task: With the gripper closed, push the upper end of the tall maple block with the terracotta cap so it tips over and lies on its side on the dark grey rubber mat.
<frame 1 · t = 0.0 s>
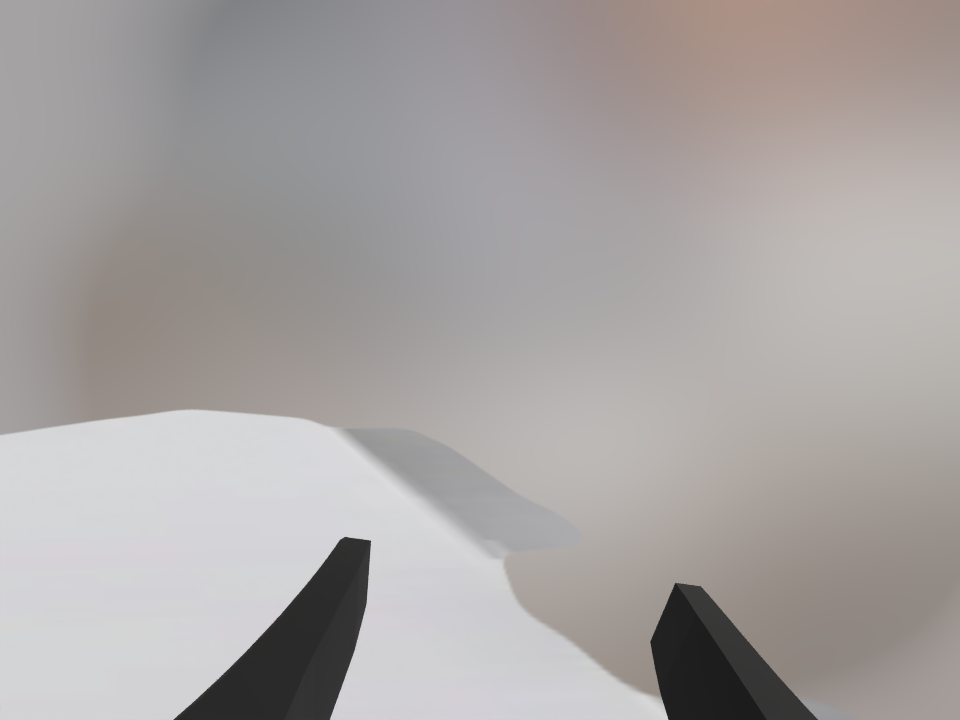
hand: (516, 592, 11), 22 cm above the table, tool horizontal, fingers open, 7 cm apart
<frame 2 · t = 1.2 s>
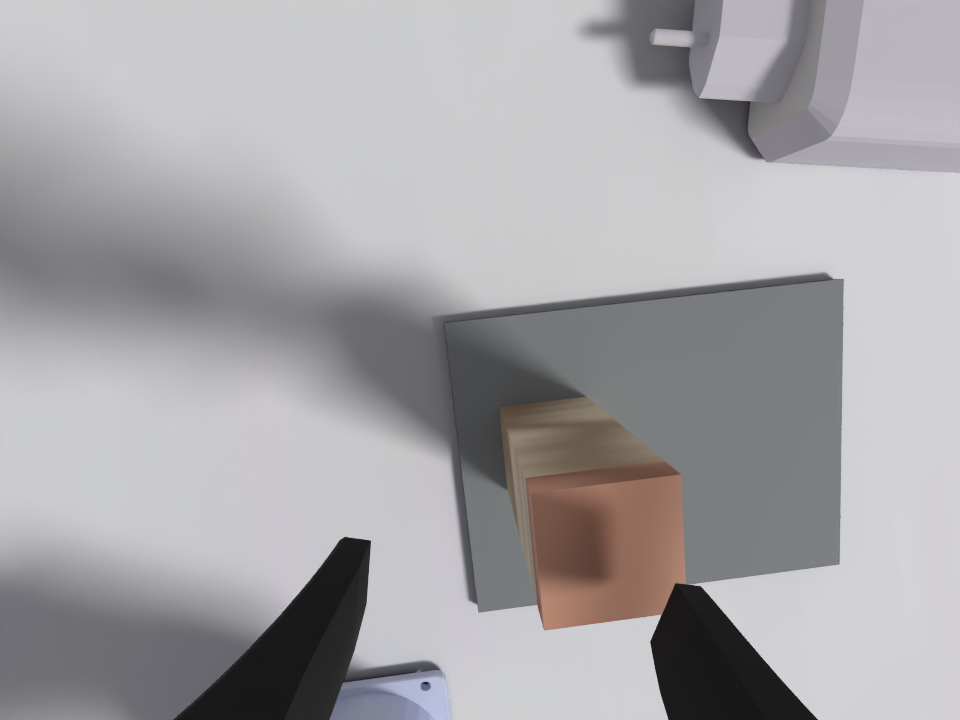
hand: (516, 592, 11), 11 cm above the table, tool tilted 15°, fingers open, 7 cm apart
rubber mat: (650, 448, 22), on the table
maple block: (546, 443, 21), resting on rubber mat
charger: (795, 59, 20), on the table
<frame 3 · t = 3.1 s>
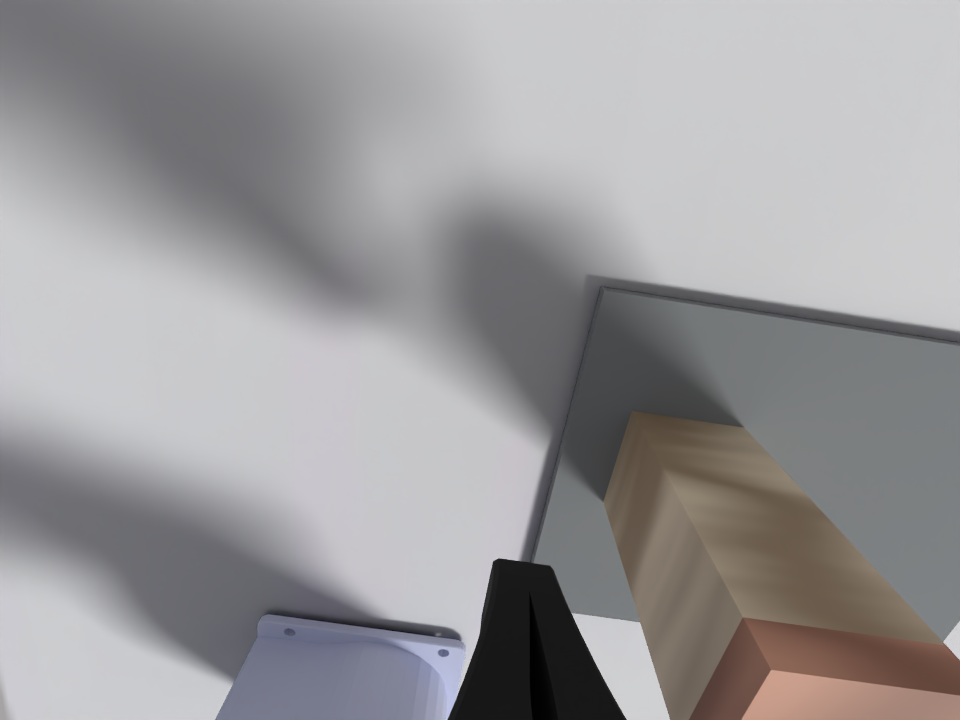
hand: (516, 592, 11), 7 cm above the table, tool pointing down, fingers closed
rubber mat: (785, 498, 18), on the table
maple block: (670, 466, 17), resting on rubber mat
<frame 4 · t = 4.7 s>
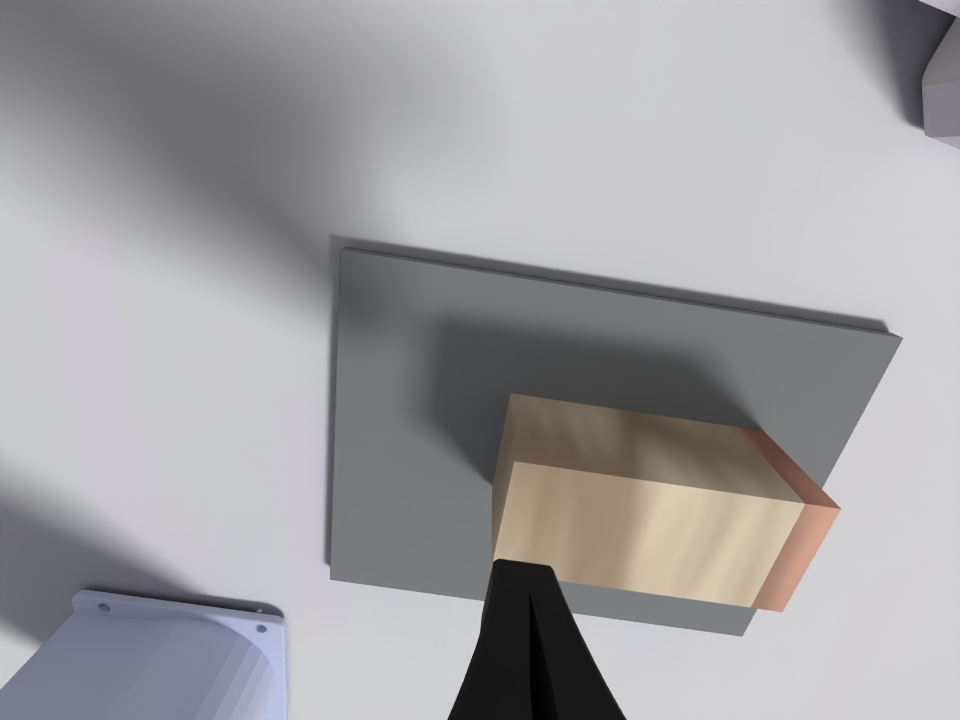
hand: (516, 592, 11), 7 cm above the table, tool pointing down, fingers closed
rubber mat: (573, 468, 18), on the table
maple block: (501, 475, 15), point 2 cm above the table, tilted 90°, touching rubber mat
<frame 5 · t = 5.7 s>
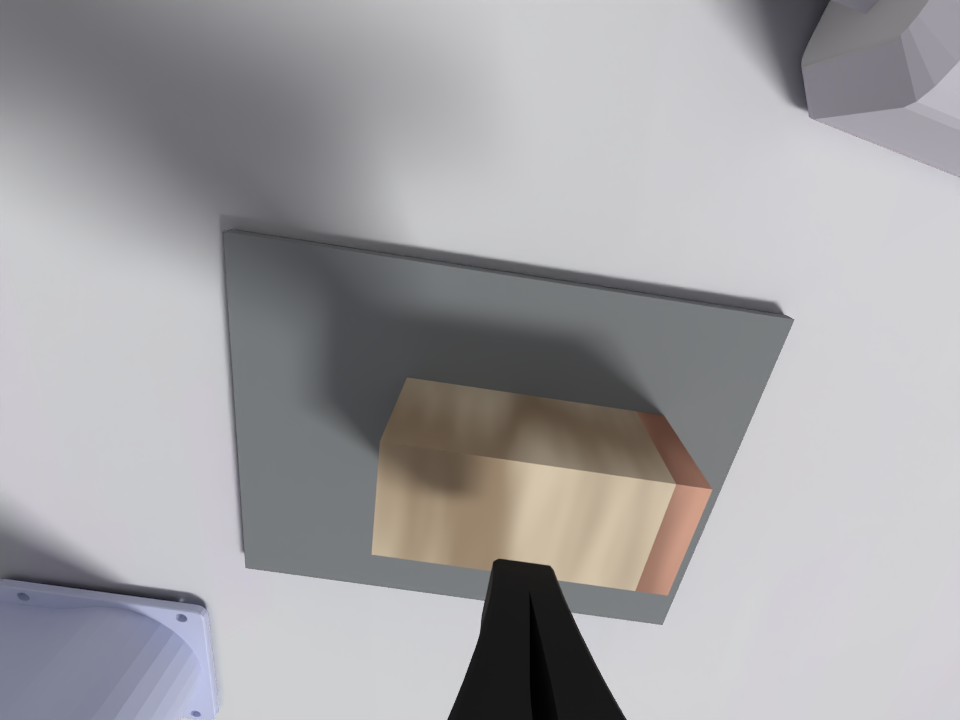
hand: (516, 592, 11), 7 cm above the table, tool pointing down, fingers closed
rubber mat: (480, 454, 18), on the table
maple block: (390, 459, 15), point 2 cm above the table, tilted 90°, touching rubber mat
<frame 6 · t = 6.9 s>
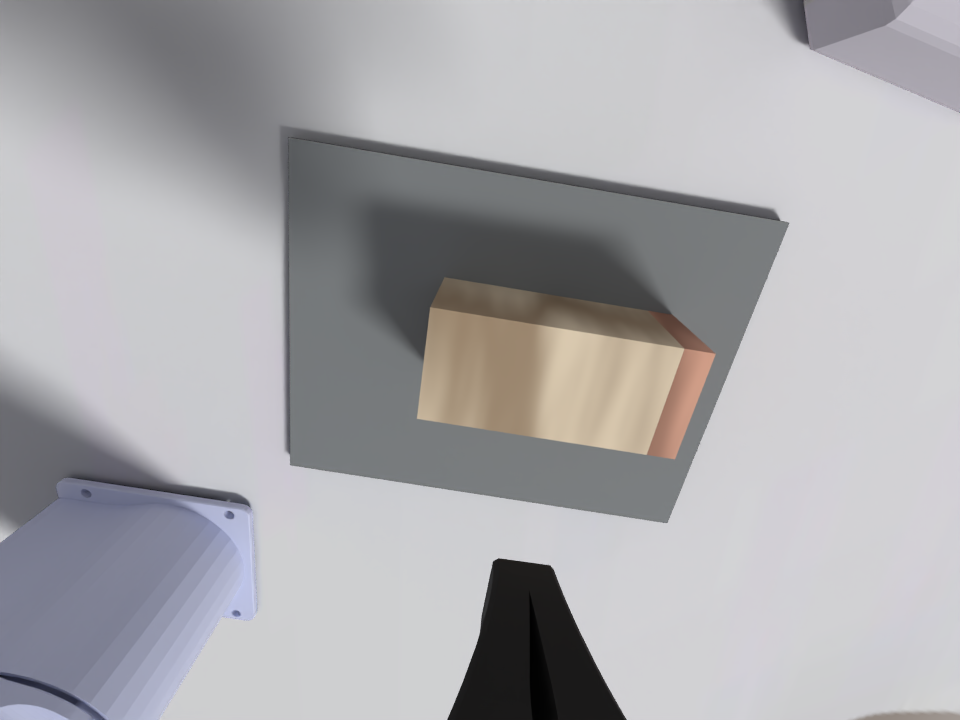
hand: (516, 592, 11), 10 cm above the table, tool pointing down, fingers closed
rubber mat: (506, 355, 20), on the table
maple block: (431, 343, 17), point 2 cm above the table, tilted 90°, touching rubber mat
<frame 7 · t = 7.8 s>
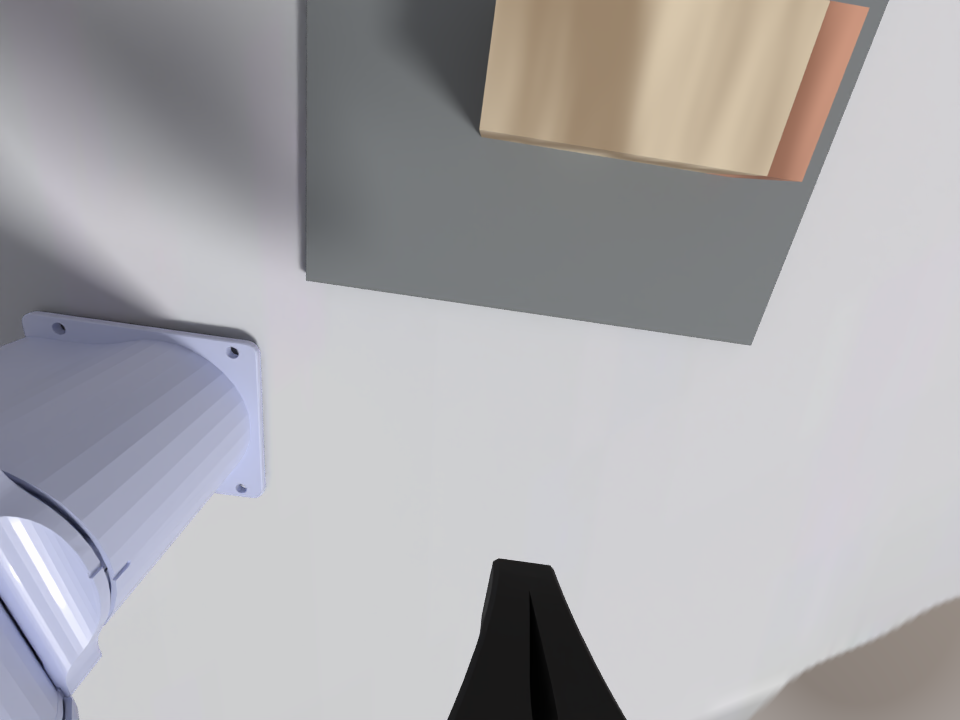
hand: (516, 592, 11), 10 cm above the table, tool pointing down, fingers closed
rubber mat: (569, 119, 16), on the table
maple block: (490, 58, 14), point 2 cm above the table, tilted 90°, touching rubber mat
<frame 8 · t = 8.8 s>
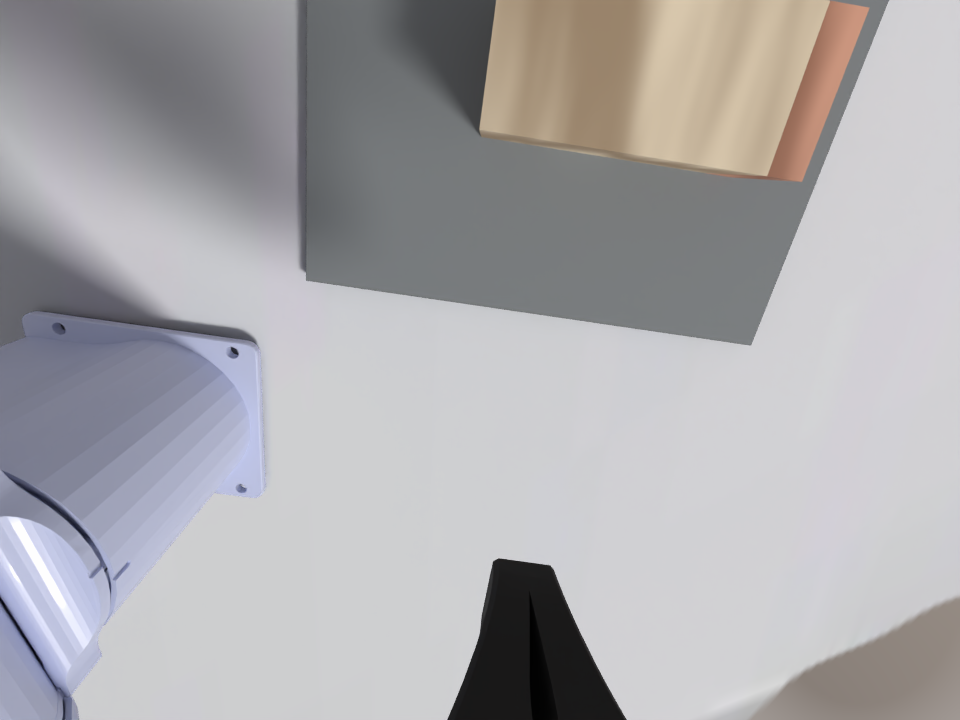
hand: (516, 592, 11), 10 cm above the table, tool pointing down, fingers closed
rubber mat: (569, 119, 16), on the table
maple block: (490, 58, 14), point 2 cm above the table, tilted 90°, touching rubber mat
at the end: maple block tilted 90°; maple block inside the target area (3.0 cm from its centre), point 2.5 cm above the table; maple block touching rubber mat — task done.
